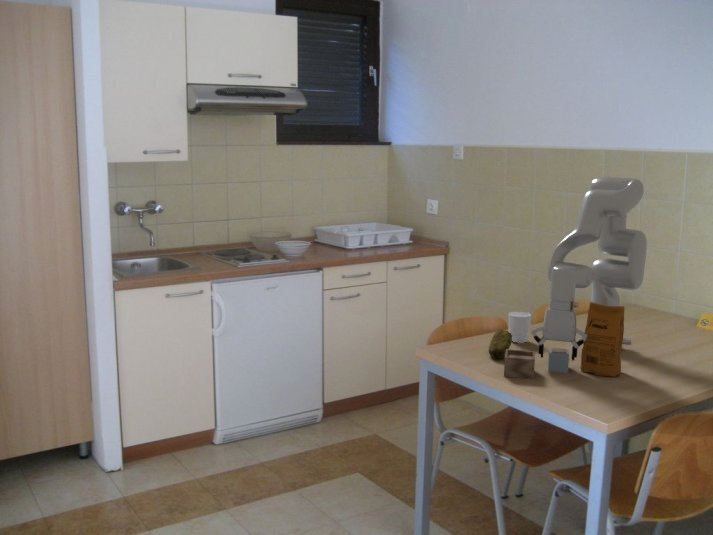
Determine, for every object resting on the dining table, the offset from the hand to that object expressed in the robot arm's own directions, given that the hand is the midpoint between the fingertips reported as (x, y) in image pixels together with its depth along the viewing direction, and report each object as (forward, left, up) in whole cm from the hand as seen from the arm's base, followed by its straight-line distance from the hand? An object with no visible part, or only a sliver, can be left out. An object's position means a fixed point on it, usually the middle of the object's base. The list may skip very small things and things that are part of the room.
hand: (557, 357), depth 237 cm
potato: (+19, -11, -4) cm, 22 cm away
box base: (+12, +7, -4) cm, 14 cm away
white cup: (+13, -31, -4) cm, 33 cm away
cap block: (0, -1, -4) cm, 4 cm away
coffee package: (-14, -2, -4) cm, 14 cm away
